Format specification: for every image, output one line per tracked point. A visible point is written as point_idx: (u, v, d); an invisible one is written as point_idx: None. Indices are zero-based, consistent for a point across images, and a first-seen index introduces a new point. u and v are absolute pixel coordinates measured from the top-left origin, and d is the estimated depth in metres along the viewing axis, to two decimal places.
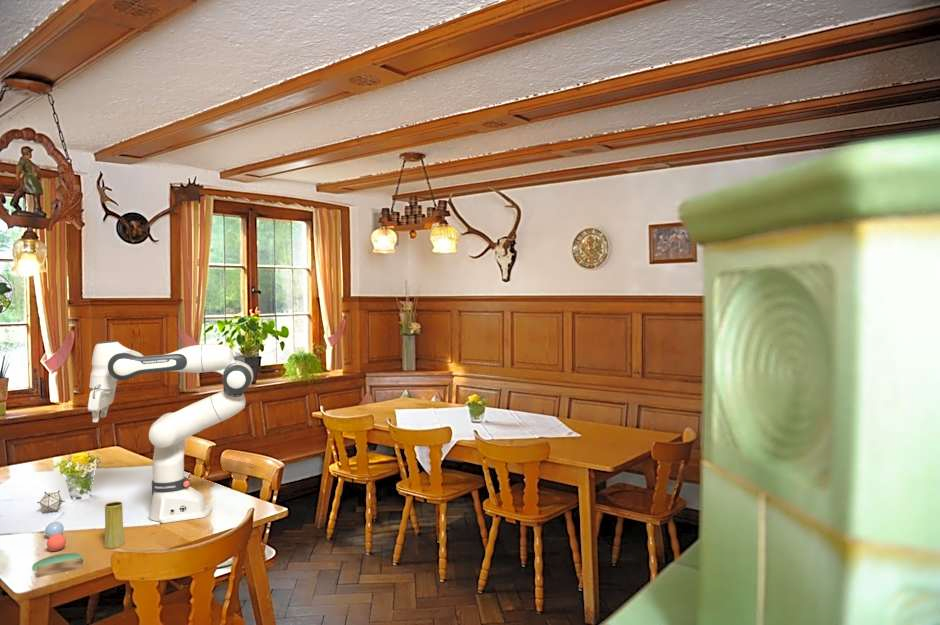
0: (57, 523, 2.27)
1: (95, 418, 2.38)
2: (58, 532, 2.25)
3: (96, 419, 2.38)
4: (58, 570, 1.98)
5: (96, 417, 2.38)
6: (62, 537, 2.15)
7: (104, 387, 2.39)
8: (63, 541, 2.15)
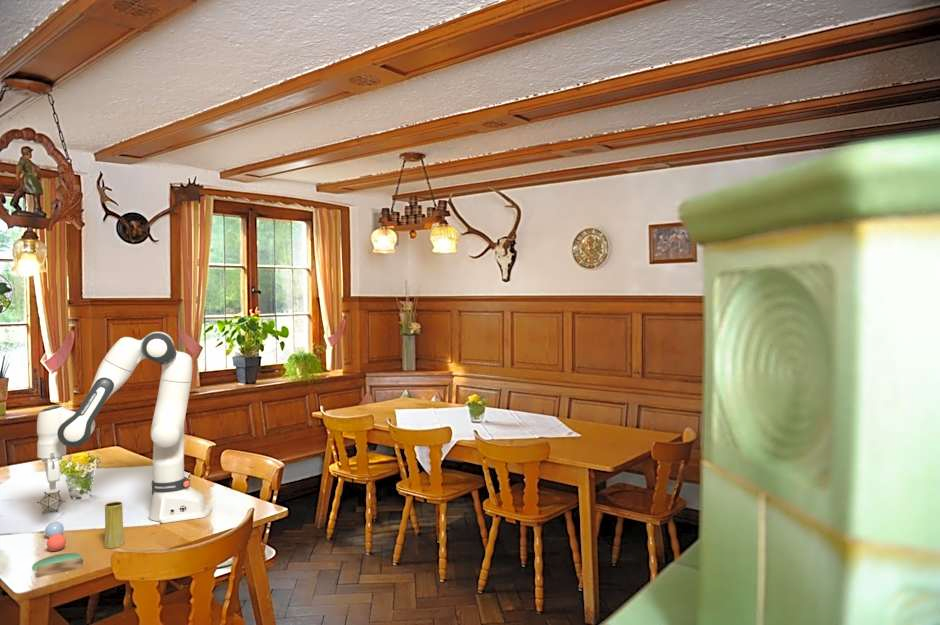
0: (57, 523, 2.27)
1: (52, 485, 2.33)
2: (58, 532, 2.25)
3: (54, 486, 2.33)
4: (58, 570, 1.98)
5: (54, 484, 2.33)
6: (62, 537, 2.15)
7: (57, 455, 2.32)
8: (63, 541, 2.15)
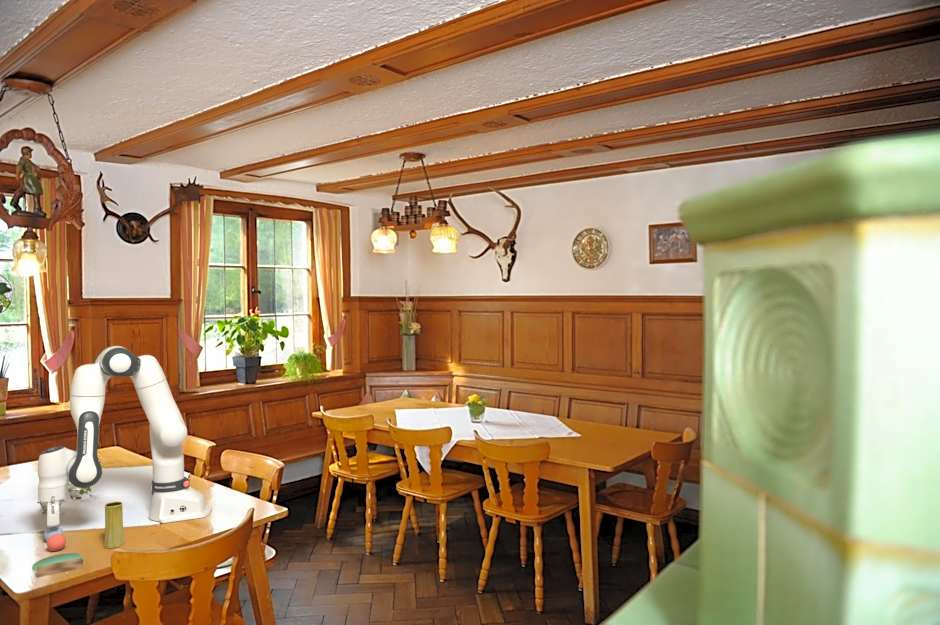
0: (56, 533, 2.22)
1: None
2: None
3: None
4: (58, 570, 1.98)
5: None
6: (62, 537, 2.15)
7: (58, 498, 2.24)
8: (63, 541, 2.15)
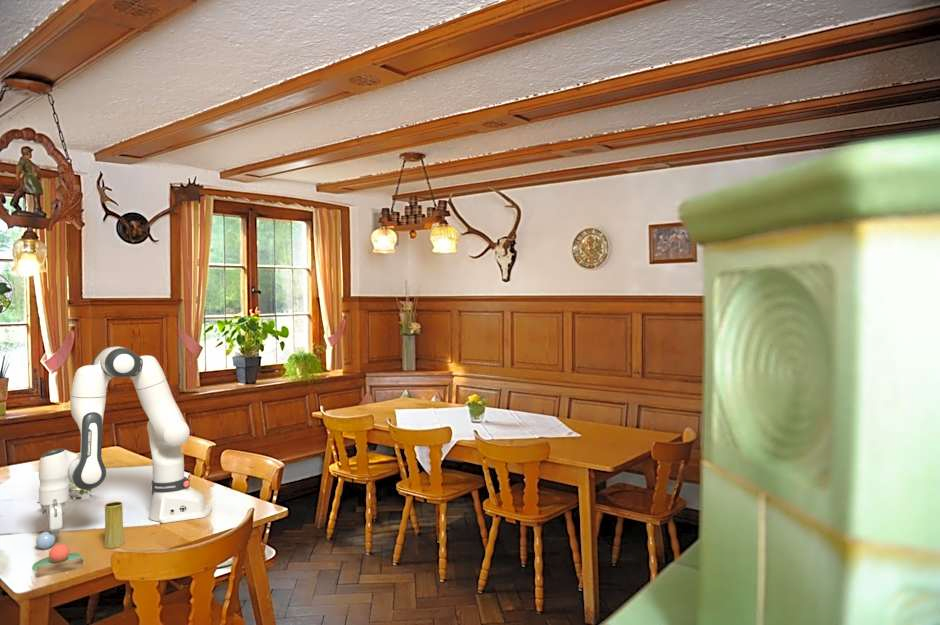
0: None
1: (55, 532, 2.23)
2: None
3: (56, 533, 2.23)
4: (58, 570, 1.98)
5: (56, 531, 2.23)
6: None
7: (60, 501, 2.22)
8: None
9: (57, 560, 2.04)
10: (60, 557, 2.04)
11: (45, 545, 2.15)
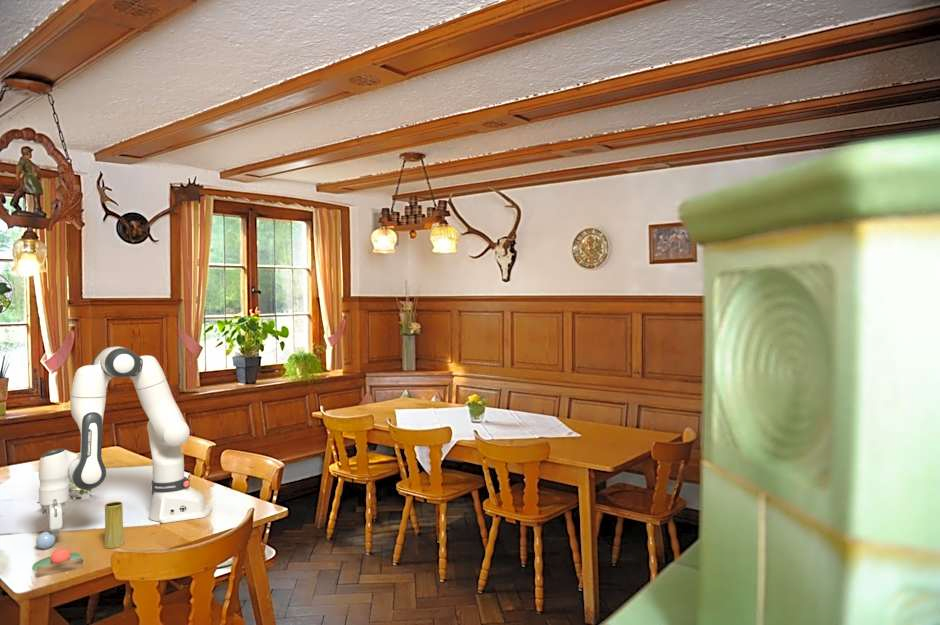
0: None
1: (55, 532, 2.23)
2: None
3: (56, 533, 2.23)
4: (58, 570, 1.98)
5: (56, 531, 2.23)
6: (66, 549, 2.04)
7: (60, 501, 2.22)
8: (67, 553, 2.03)
9: None
10: None
11: (45, 545, 2.15)
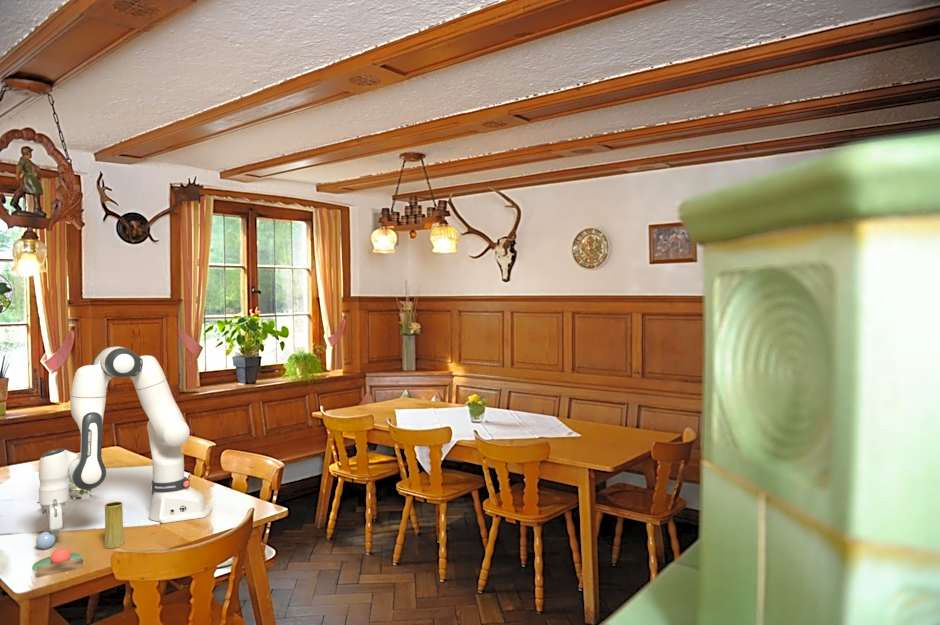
0: None
1: (55, 532, 2.23)
2: None
3: (56, 533, 2.23)
4: (58, 570, 1.98)
5: (56, 531, 2.23)
6: (66, 549, 2.03)
7: (60, 501, 2.22)
8: (67, 553, 2.03)
9: None
10: None
11: (45, 545, 2.15)
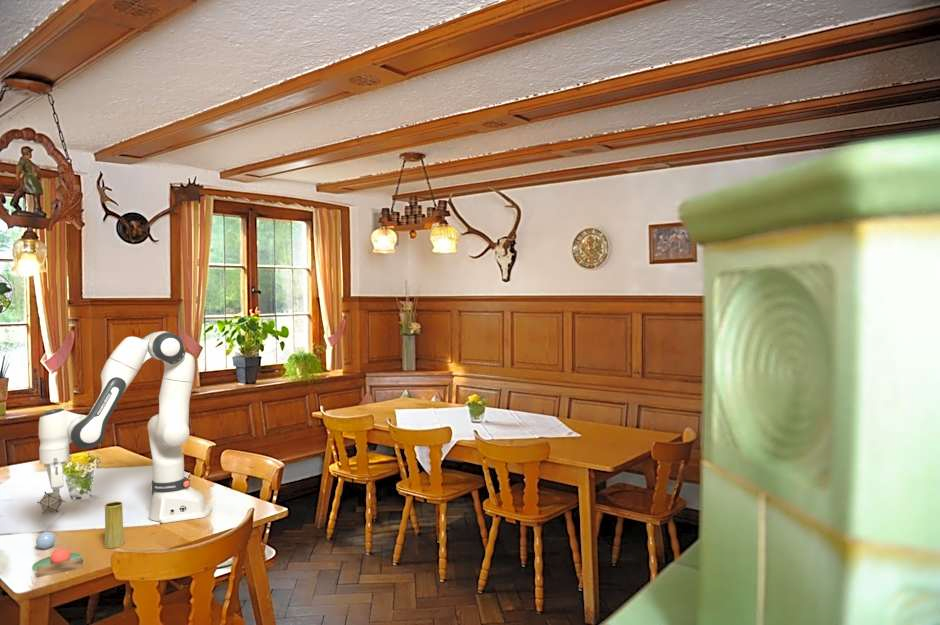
0: None
1: (56, 492, 2.24)
2: None
3: (57, 492, 2.24)
4: (58, 570, 1.98)
5: (57, 490, 2.24)
6: (66, 549, 2.03)
7: (61, 460, 2.22)
8: (67, 553, 2.03)
9: None
10: None
11: (45, 545, 2.15)
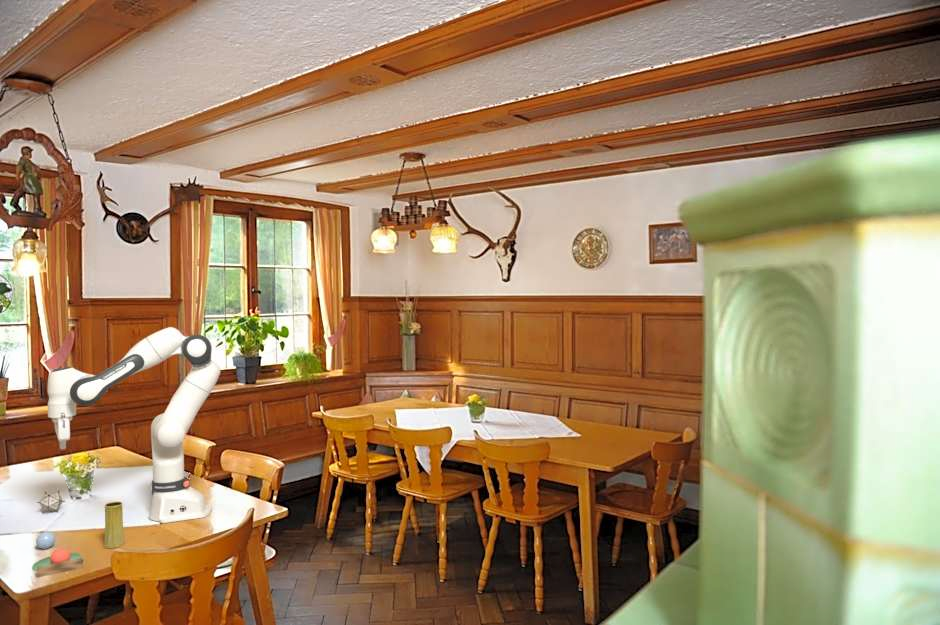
0: None
1: (63, 445, 2.35)
2: None
3: (64, 446, 2.36)
4: (58, 570, 1.98)
5: (64, 444, 2.35)
6: (66, 549, 2.03)
7: (68, 415, 2.34)
8: (67, 553, 2.03)
9: None
10: None
11: (45, 545, 2.15)
